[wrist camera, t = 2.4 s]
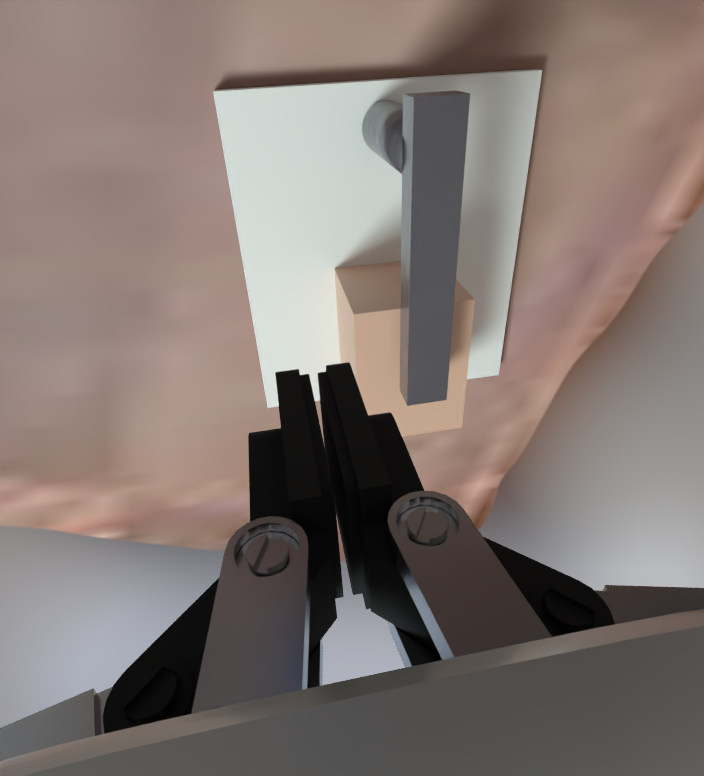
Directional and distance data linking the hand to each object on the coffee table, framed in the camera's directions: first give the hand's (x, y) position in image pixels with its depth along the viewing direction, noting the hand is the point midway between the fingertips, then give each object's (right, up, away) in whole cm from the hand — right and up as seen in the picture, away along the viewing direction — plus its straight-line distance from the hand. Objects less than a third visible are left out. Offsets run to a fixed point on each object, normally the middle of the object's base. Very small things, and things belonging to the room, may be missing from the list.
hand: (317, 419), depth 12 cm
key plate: (+3, +9, +18) cm, 20 cm away
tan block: (+3, +5, +20) cm, 20 cm away
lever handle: (+3, +10, +16) cm, 19 cm away
